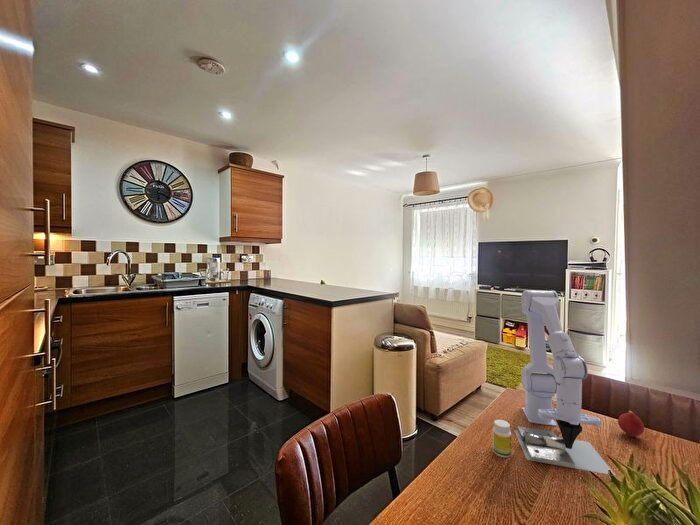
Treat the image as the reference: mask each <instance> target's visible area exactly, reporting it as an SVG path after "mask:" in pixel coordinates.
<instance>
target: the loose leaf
mask: <svg viewBox="0 0 700 525" xmlns="http://www.w3.org/2000/svg"><path fill="white" fill-rule="evenodd" d="M543 437H544V440H545V447H542V446H536V445H530V444H526V450H527V452H528V454H529V456H530V458H531V460H532V462H536V463H543V464H549V465H552V466H553V465H554V466H560V467H564V468H570V469H576V468H575V463H574V462H573V460H572V459H571V457H570V456H569V454H568V452H567V451H565V442H564V440H563V439H561V438H562V437H560V438H555V437H548V436H543ZM531 460H530V461H531Z"/></svg>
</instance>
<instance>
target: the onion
mask: <svg viewBox="0 0 700 525" xmlns="http://www.w3.org/2000/svg"><path fill="white" fill-rule="evenodd" d="M617 425H619V428H620V429H621V430H622V431H623V433H625V434H626V435H627V436H628V437H631V438H632V437H633V438H634V437H639V436H641V435H642V434H643V433H644V432H645V425H644V423H643V421H642V420H641V418H640V417H639V416H637V414H635V413H634V412H633V411H631V410H627V412H625V413H622V414H621V415H619V417H618V419H617Z"/></svg>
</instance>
